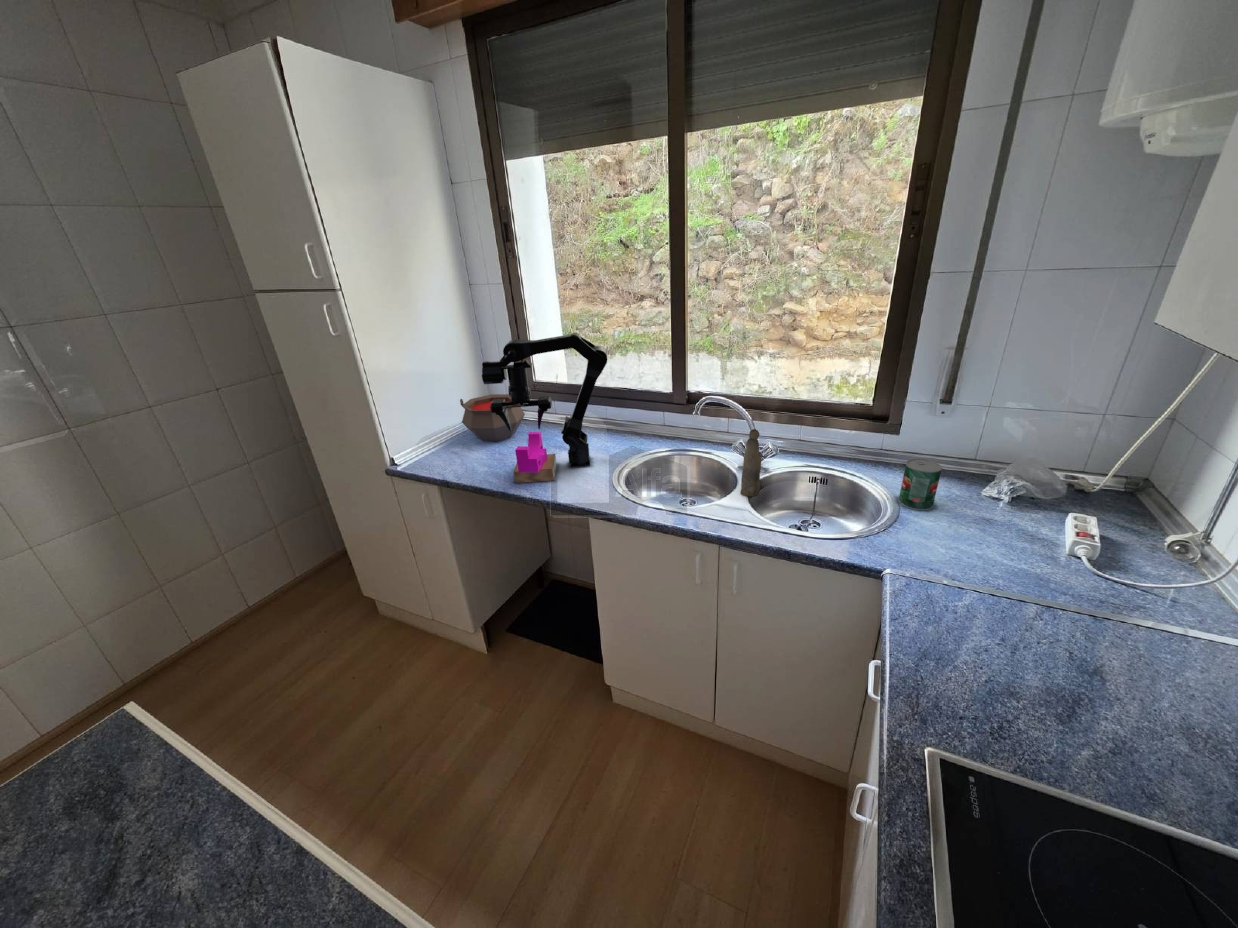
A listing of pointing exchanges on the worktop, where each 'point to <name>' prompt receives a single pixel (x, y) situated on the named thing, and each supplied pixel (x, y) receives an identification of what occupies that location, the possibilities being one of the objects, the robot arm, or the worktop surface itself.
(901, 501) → the canned tomato
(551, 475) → the plinth
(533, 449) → the toy block
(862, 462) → the worktop surface
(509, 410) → the brown faceted pot
